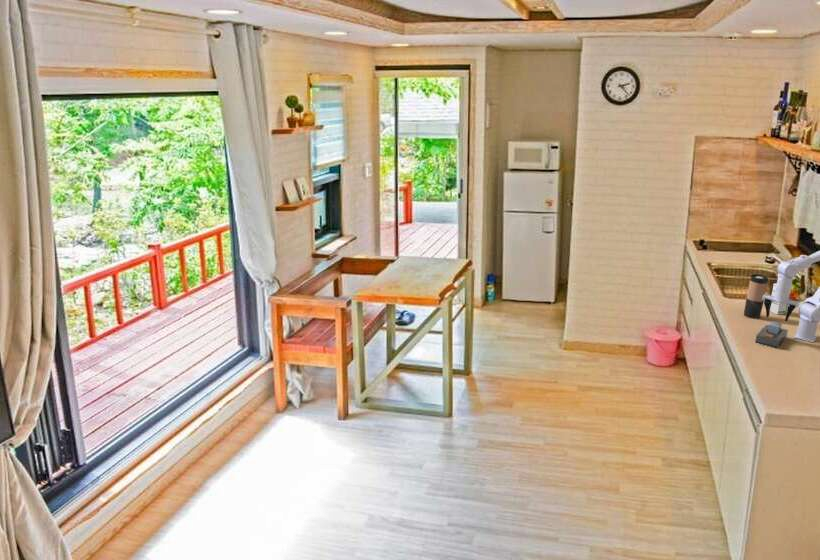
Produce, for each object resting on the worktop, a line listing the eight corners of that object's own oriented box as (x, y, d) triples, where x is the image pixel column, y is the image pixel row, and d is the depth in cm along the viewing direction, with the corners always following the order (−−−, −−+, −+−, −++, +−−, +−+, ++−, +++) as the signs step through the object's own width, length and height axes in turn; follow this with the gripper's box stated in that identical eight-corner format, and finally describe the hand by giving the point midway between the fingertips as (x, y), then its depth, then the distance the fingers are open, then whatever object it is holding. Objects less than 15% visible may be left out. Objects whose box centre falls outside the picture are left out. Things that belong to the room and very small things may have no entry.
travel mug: (763, 317, 351) (771, 277, 345) (754, 319, 347) (762, 279, 341) (748, 312, 357) (756, 273, 351) (739, 314, 353) (747, 275, 347)
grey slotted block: (764, 332, 331) (766, 323, 330) (786, 337, 326) (788, 328, 324) (755, 342, 317) (756, 333, 316) (777, 348, 312) (779, 339, 311)
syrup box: (777, 314, 356) (783, 286, 352) (767, 310, 362) (773, 282, 357) (786, 314, 358) (792, 285, 354) (776, 310, 363) (782, 282, 359)
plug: (769, 333, 327) (772, 321, 325) (779, 336, 325) (781, 323, 323) (766, 337, 322) (769, 324, 321) (776, 339, 320) (778, 327, 318)
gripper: (763, 287, 318) (757, 316, 322) (799, 295, 310) (792, 325, 314) (766, 284, 323) (760, 312, 327) (802, 291, 315) (796, 321, 319)
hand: (776, 318), depth 321 cm, fingers open, 7 cm apart
